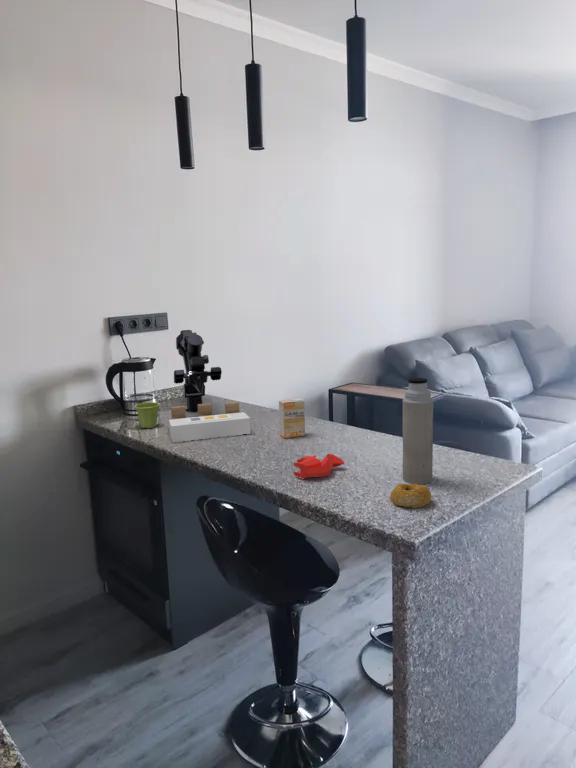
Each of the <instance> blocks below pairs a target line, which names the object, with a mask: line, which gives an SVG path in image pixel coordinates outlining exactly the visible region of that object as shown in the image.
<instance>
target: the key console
mask: <svg viewBox="0 0 576 768" xmlns="http://www.w3.org/2000/svg"><path fill="white" fill-rule="evenodd" d="M168 425H169V426H168V428H167V431H168V433H169V437H170V440H171V442H172V444H175V442H176V443H183V441H185V442H192V441H191V440H194V441H200V440H199V439H203V440H210V439H209V438H211V439H218V437H220V438H228V437H227V436H229V437H236V436H237V435H238V436H244V435H243V434H247V435H251V434H252V433H251V417H250V416H248V414H247V413H245V411H243V412H240V413H230V414H225V413H222V414H214V415H213V414H212V415H211V416H201V417H198V416H194V417H191V416H190V417H186V418H181V419H172V418H171V419H168Z"/></svg>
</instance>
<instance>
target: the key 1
mask: <svg viewBox="0 0 576 768" xmlns="http://www.w3.org/2000/svg"><path fill="white" fill-rule="evenodd" d="M185 409H186V407H185V405H177V406H170V412H171V420H172V419H181V418H187V417H186V414H187V413H186V410H185Z"/></svg>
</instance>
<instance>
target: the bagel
mask: <svg viewBox="0 0 576 768" xmlns="http://www.w3.org/2000/svg"><path fill="white" fill-rule="evenodd" d="M389 498H390V501H391V502H392V504H393V505H395V506H397V507H398V506H399V507H402V506H404V507H403V508H407V507H412V508H411V509H418V508H417V507H421V508H424V507H426V506H427V504H428V505H429V504H430V501H431V499H432V494H431V491H430V489H429V487H428V486H426V485H424V484H413V483H399V484H397V485H396V486H395V487H394V488H393V489H392V491H391V492H390V497H389ZM425 505H426V506H425ZM423 506H424V507H423Z"/></svg>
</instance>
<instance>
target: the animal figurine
mask: <svg viewBox="0 0 576 768" xmlns="http://www.w3.org/2000/svg"><path fill="white" fill-rule="evenodd" d="M317 457H318V455H316V454H314V455H305V456H304V457H301V458H299V459H297V460H296V462H293V466H294V467H296V468H298V469H299V470H300V471H299V472H298V471H293V476H295V477H297V476H298V477H301V478H306V479H309V478H318V477H321V478H322V477H325V476H326V477H328V476H329V475H330V473H331V472H332V470H333V469H334V468H338V467H340V466H342V465H344V464H345V463H346V462H345V461H344V460H343V459H342V458H340V457H339V456H338V455H337V456H336V455H335V454H331V453H327V454H326V455H325V457H324V458H323V459H322V460H320V459H319V458H317ZM327 475H328V476H327ZM298 477H297V478H298ZM308 477H309V478H308Z"/></svg>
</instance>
